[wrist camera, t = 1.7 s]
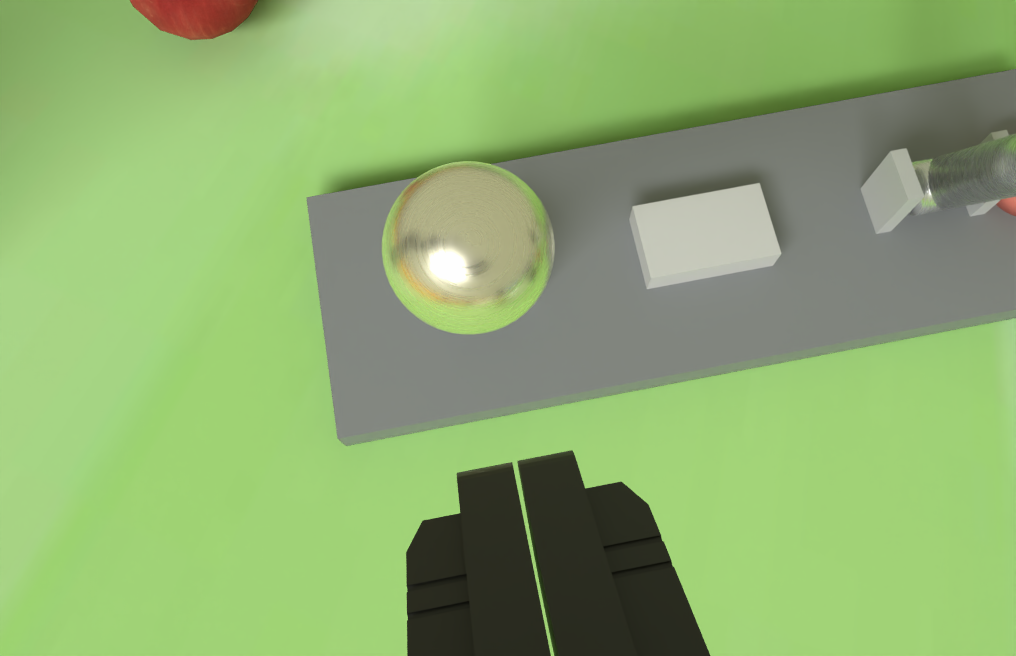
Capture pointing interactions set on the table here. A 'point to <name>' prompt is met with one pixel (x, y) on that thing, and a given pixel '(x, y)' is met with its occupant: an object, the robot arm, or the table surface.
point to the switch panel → (687, 261)
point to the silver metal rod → (967, 176)
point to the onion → (195, 16)
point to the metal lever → (468, 247)
